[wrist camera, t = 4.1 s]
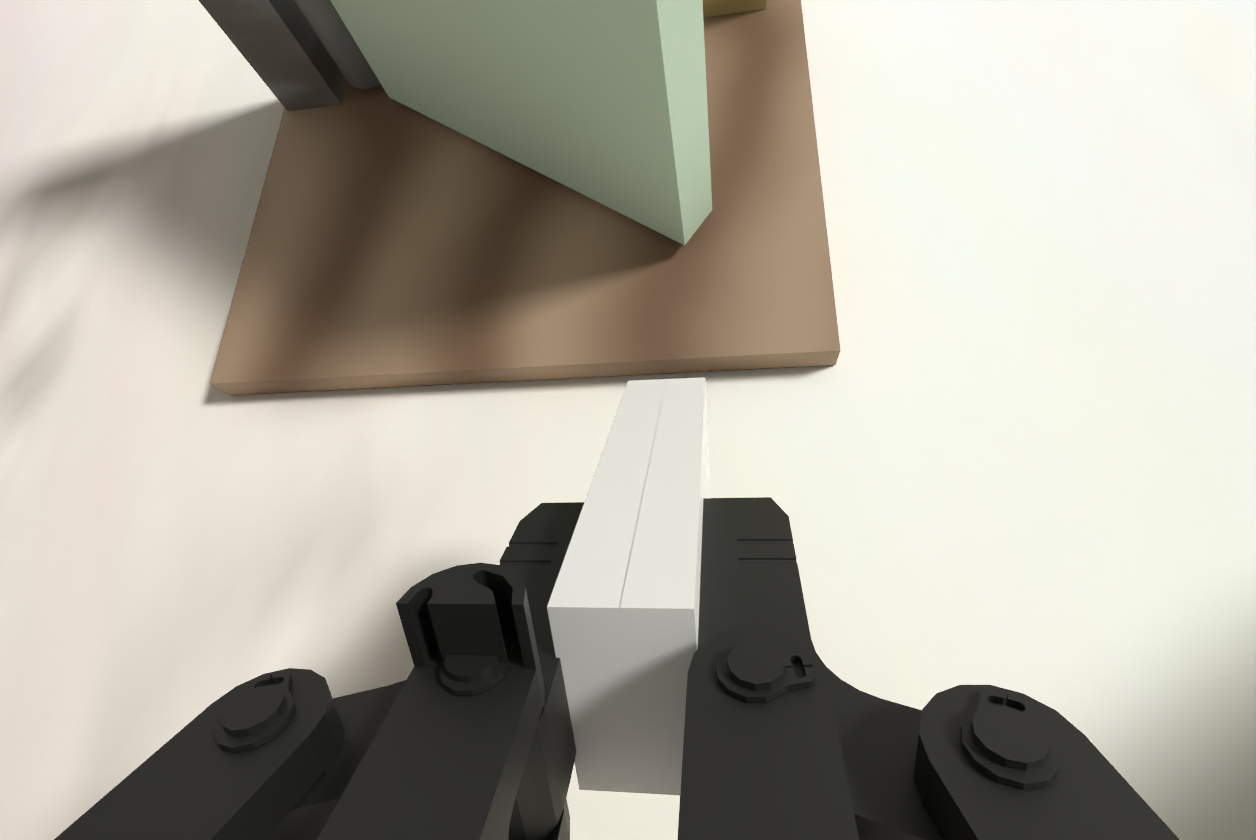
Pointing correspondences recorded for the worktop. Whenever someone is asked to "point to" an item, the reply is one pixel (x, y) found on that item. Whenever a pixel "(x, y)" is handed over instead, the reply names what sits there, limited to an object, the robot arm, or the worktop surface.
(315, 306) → the wooden stand
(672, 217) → the gate
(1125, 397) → the worktop surface
